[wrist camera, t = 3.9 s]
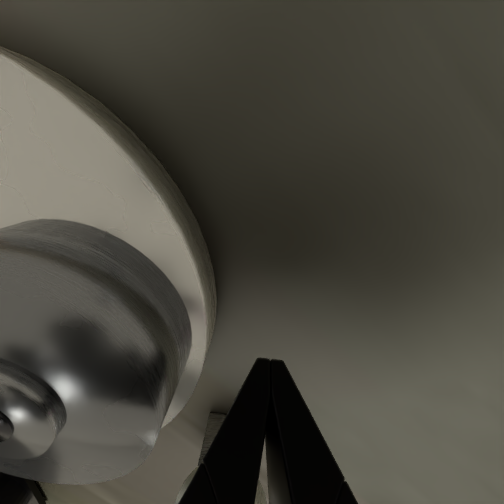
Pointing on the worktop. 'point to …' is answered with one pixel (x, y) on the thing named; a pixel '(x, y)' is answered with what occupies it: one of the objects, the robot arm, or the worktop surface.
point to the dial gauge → (211, 431)
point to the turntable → (100, 188)
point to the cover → (83, 352)
